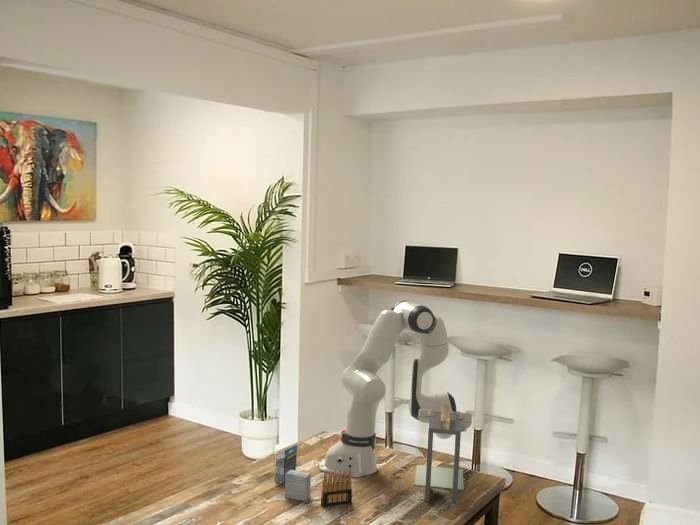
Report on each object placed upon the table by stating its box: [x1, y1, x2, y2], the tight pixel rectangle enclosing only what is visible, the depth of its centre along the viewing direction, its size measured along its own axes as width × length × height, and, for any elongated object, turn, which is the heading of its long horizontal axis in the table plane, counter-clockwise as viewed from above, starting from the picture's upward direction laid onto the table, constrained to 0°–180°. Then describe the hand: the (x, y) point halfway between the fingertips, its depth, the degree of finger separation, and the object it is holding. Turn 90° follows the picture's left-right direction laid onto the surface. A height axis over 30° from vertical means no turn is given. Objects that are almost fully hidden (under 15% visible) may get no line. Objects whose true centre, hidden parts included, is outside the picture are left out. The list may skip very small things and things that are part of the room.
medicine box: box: [284, 470, 312, 502], centre depth 235 cm, size 8×4×9 cm, turn 71°
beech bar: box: [440, 405, 450, 430], centre depth 244 cm, size 3×20×3 cm, turn 171°
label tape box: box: [274, 444, 298, 484], centre depth 251 cm, size 9×4×12 cm, turn 154°
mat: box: [413, 464, 465, 491], centre depth 259 cm, size 18×20×1 cm
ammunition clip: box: [320, 469, 353, 508], centre depth 231 cm, size 11×2×12 cm, turn 112°
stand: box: [424, 418, 462, 505], centre depth 241 cm, size 11×12×26 cm
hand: (445, 412), depth 253 cm, fingers open, 8 cm apart
